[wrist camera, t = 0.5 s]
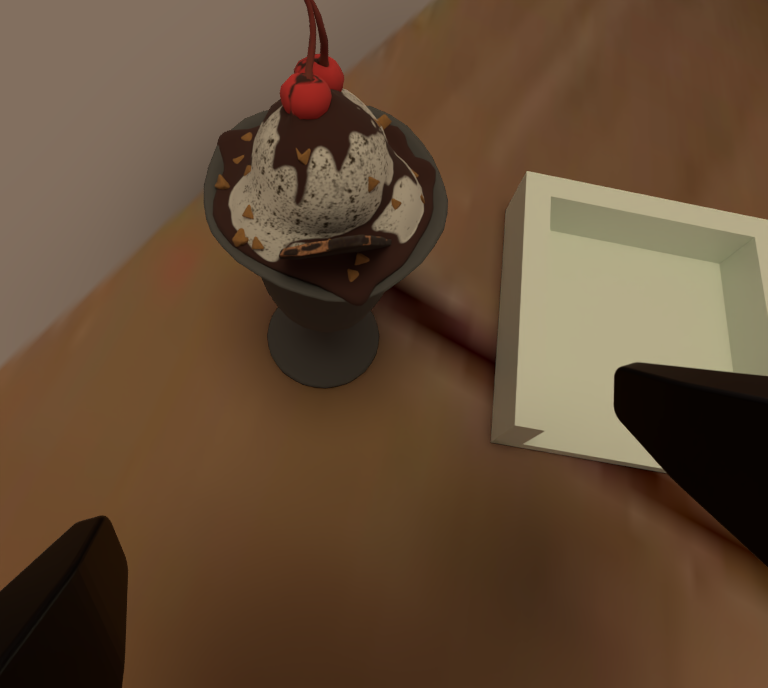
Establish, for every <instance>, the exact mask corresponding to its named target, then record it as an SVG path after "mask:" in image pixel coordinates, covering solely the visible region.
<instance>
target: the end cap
mask: <svg viewBox="0 0 768 688" xmlns="http://www.w3.org/2000/svg"><path fill="white" fill-rule="evenodd" d="M635 362H643V363H652V364H661V365H670V366H680V367H689V368H698V369H707V370H716V371H725V372H735V373H744V374H753V375H762V376H768V220H765V219H760V218H755V217H751V216H746V215H741V214H736V213H731V212H726V211H721V210H716V209H711V208H706V207H701V206H696V205H691V204H687V203H682V202H677V201H672V200H667V199H662V198H657V197H652V196H647V195H642V194H637V193H632V192H627V191H623V190H618V189H613V188H608V187H603V186H598V185H593V184H588V183H583V182H578V181H573V180H568V179H563V178H559V177H554V176H549V175H544V174H539V173H534V172H529V171H526V173H525V175H524V177H523V179H522V181H521V183H520V185H519V186H518V188H517V190H516V192H515V194H514V196H513V198H512V200H511V201H510V203H509V205H508V207H507V209H506V214H505V230H504V245H503V260H502V276H501V291H500V306H499V322H498V337H497V352H496V368H495V383H494V398H493V414H492V429H491V443H497V444H503V445H508V446H514V447H520V448H525V449H531V450H537V451H543V452H548V453H554V454H560V455H566V456H571V457H577V458H583V459H588V460H594V461H600V462H606V463H611V464H617V465H623V466H628V467H634V468H640V469H646V470H651V471H657V472H663V473H666V472H665V471H664V470H663V469H662V467H661V466H660V465H659V464H658V463H657V462H656V461H655V460H654V459H653V457H652V456H651V455H650V454H649V453H648V452H647V451H646V450H645V449H644V447H643V446H642V445H641V444H640V443H639V442H638V441H637V440H636V438H635V437H634V436H633V435H632V434H631V433H630V432H629V431H628V430H627V428H626V427H625V426H624V425H623V424H622V423H621V422H620V421H619V419H618V418H617V416H616V414H615V412H614V406H613V402H614V374H615V371H616V370H617V369H618V368H619V367H621V366H624V365H627V364H631V363H635Z"/></svg>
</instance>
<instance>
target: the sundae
mask: <svg viewBox="0 0 768 688" xmlns="http://www.w3.org/2000/svg"><path fill="white" fill-rule="evenodd" d="M304 1H305V4H306V6H307V10H308V15H309V22H310V25H309V27H310V39H309V47H308V55H307V57H306V58H304V59H302V60H300V61H299V62H298V63H297V65H296V67H295V69H294V74H293V75H291V76H290V77H289V78H288V79H287V81H285V83H284V84H283V85H282V86H281V90H280V97H281V99H280V100H278V101H277V102H275V103H274V104H273V105H272V106H271V108H270V109H269V110H268V111H263V112H261V113H258V114H255V115H253V116H251V117H248V118H245V119H244V120H243V121H241V122H240V123H239V124H238V125H236V126H235V127H234V128H233V129H231V130H230V131H227V132H224V133H223V134H222V135H221V136H220V137H219V139H218V143H217V147H216V149H215V152H214V154H213V157H212V159H211V162H210V164H209V167H208V171H207V175H206V179H205V183H204V208H205V214H206V220H207V222H208V225H209V227H210V230H211V233H212V234H213V236H214V237H215V238H216V240H217V241H218V242H219V243H220V245H221V246H222V247H223V248H224V249H225V250H226V251H227V252H228V253H229V254H230V255H231V256H232V257H233V258H234V259H235V260H236V261H237V262H238V263H240V264H241V265H243V266H245V267H246V268H248V269H249V270H251V271H252V272H254V273H255V274H257V275H259V276H260V277H261V278H262V280H263V282H264V284H265V287H266V289H267V291H268V293H269V294H270V296H271V297H272V299H273V300H274V301H275V303H276V304H277V306H278V308H277V310H276V311H275V312H274V314H273V315H272V318H271V321H270V324H269V329H268V334H267V337H268V345H269V349H270V353H271V356H272V358H273V359H274V361H275V362H276V364H277V365H278V367H279V368H280V369H281V370H282V372H283V373H285V374H286V375H287V376H289V377H290V378H292V379H293V380H295V381H297V382H299V383H301V384H303V385H308V386H312V387H319V388H329V387H336V386H340V385H343V384H347V383H349V382H350V381H352V380H354V379H356V378H357V377H358V376H360V375H361V374H362V373H364V372H365V371H366V369H367V368H368V367H369V365H370V364H371V362H372V361H373V359H374V357H375V355H376V352H377V348H378V342H379V332H378V327H377V323H376V320H375V318H374V315H373V314H372V312H371V311H370V310H371V309H372V308H373V307H374V306H375V304H376V303H377V302H378V301H379V299H380V298H381V297H382V295H383V293H384V292H385V291H386V290H388V289H389V288H391V287H392V286H394V285H395V284H397V283H398V282H399V281H401V280H402V279H404V278H405V277H406V276H407V275H408V274H410V273H411V272H412V271H413V270H414V269H416V268H417V267H418V266H419V265H420V264H421V263H422V262H423V261H424V259H425V258H426V257H427V255H428V254H429V253H430V251H431V250H432V249H433V247H434V246H435V244H436V243H437V241H438V239H439V237H440V236H441V234H442V232H443V230H444V226H445V222H446V217H447V210H448V199H447V195H446V190H445V186H444V184H443V181H442V178H441V175H440V173H439V171H438V168H437V166H436V164H435V162H434V160H433V158H432V156H431V155H430V153H429V152H428V150H427V149H426V147H425V146H424V144H423V143H422V142H421V141H420V139H419V138H418V137H417V136H416V135H415V134H414V133H413V132H412V131H411V129H410V128H409V127H408V126H407V125H405V124H403V123H402V122H400V121H399V120H397V119H396V118H394V117H393V116H391V115H390V114H387V113H385V112H383V111H380V110H378V109H376V108H374V107H371V106H366V105H365V104H364V103H363V102H362V101H360V100H359V99H358V98H357V97H356V96H355V95H353V94H352V93H350V92H349V91H347V90H345V89H342V88H343V82H344V75H343V72H342V70H341V68H340V67H339V65H338V64H337V62H336V61H335V60H334V59H332V58H330V57H328V39H327V35H326V32H325V28H324V24H323V21H322V17H321V14H320V12H319V10H318V8H317V6H316V4H315V2H314V1H313V0H304ZM313 12H314V13H313ZM314 16H315V18H314ZM315 19H316V23H317V27H318V31H319V38H320V43H321V46H320V47H321V48H320V54H315V49H316V23H315Z"/></svg>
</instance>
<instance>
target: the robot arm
mask: <svg viewBox="0 0 768 688" xmlns="http://www.w3.org/2000/svg"><path fill="white" fill-rule="evenodd" d="M613 406H614V412H615V414H616V416H617V418H618V419H619V421H620V422H621V423H622V424H623V425H624V426H625V427H626V428H627V430H628V431H629V432H630V433H631V434H632V435H633V436H634V437H635V438H636V440H637V441H638V442H639V443H640V444H641V445H642V446H643V447H644V449H645V450H646V451H647V452H648V453H649V454H650V455H651V456H652V457H653V459H654V460H655V461H656V462H657V463H658V464H659V465H660V466H661V467H662V469H663V470H664V471H665V472H666V473H667V474H668V475H669V476H670V477H671V478H672V479H673V480H674V481H675V482H676V483H677V484H678V485H679V486H680V487H681V488H682V489H683V490H685V491H686V492H687V493H688V494H689V495H690V496H691V497H692V498H693V499H694V500H695V501H696V502H698V503H699V504H700V505H701V506H702V507H703V508H704V509H705V510H706V511H707V512H708V513H709V514H711V515H712V516H713V517H714V518H715V519H716V520H717V521H718V522H719V523H720V524H721V525H722V526H724V527H725V528H726V529H727V530H728V531H729V532H730V533H731V534H732V535H733V536H734V537H735V538H737V539H738V540H739V541H740V542H741V543H742V544H743V545H744V546H745V547H746V548H747V549H748V550H750V551H751V552H752V553H753V554H754V555H755V556H756V557H757V558H758V559H759V560H760V561H761V562H763V563H764V564H765V565H766V566H767V567H768V376H762V375H753V374H744V373H735V372H725V371H716V370H707V369H698V368H689V367H680V366H670V365H661V364H652V363H643V362H635V363H631V364H627V365H624V366H621V367H619V368H618V369H617V370H616V371H615V374H614V402H613ZM127 586H128V566H127V561H126V557H125V554H124V552H123V550H122V547H121V545H120V542H119V540H118V537H117V535H116V533H115V530H114V528H113V525H112V523H111V521H110V520H109V519H108V517H106V516H103V515H102V516H97V517H94V518H90V519H87V520H83V521H80V522H77V523H75V524H74V525H73V526H72V527H71V528H70V529H68V530H67V531H66V532H65V533H64V534H63V535H62V536H61V537H60V538H59V539H57V540H56V541H55V542H54V543H53V544H52V545H51V546H50V547H49V548H47V549H46V550H45V551H44V552H43V553H42V554H41V555H40V556H39V557H38V558H36V559H35V560H34V561H33V562H32V563H31V564H30V565H29V566H28V567H26V568H25V569H24V570H23V571H22V572H21V573H20V574H19V575H18V576H17V577H15V578H14V579H13V580H12V581H11V582H10V583H9V584H8V585H7V586H6V587H4V588H3V589H2V590H1V591H0V688H122V681H123V673H124V663H125V642H126V614H127Z"/></svg>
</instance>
